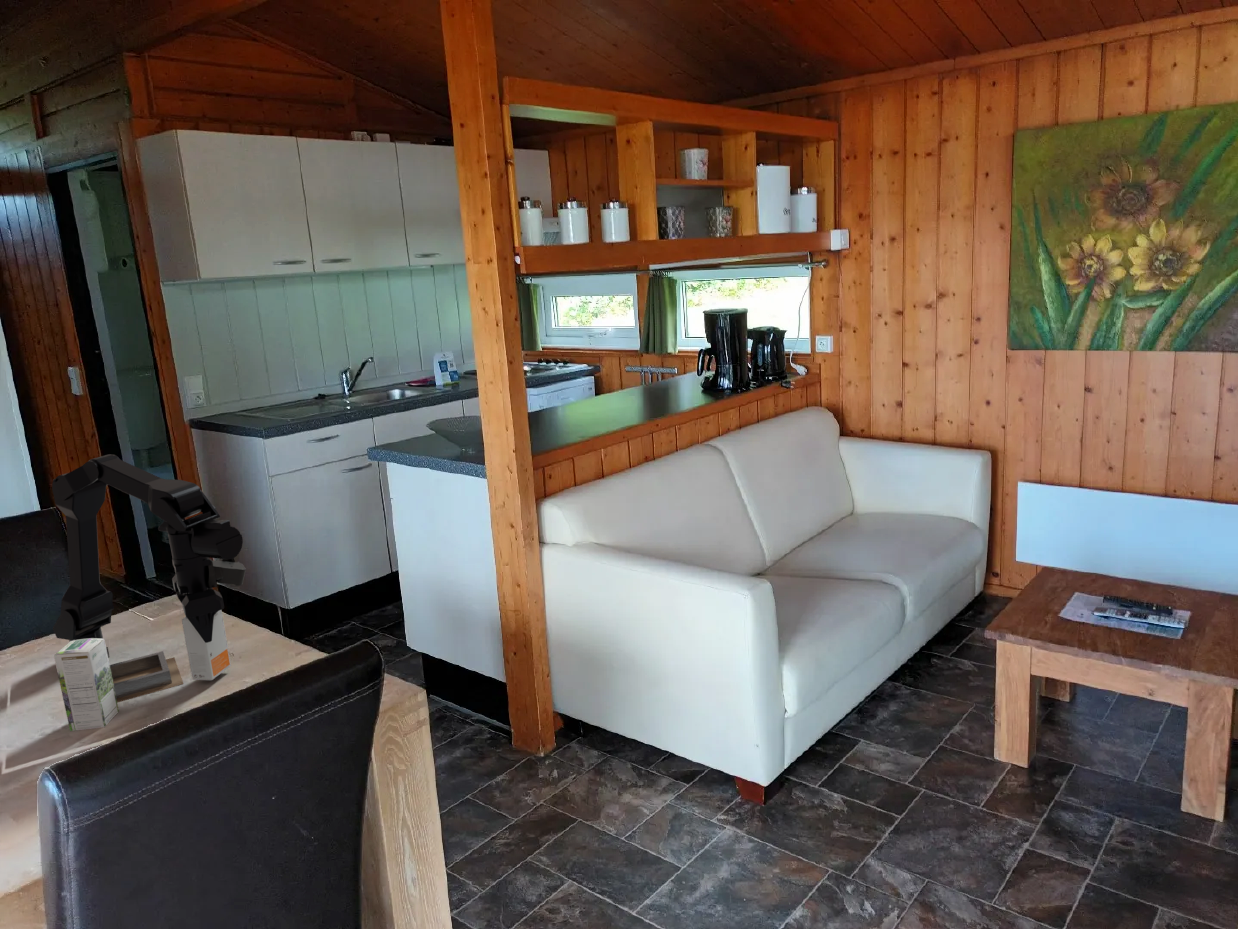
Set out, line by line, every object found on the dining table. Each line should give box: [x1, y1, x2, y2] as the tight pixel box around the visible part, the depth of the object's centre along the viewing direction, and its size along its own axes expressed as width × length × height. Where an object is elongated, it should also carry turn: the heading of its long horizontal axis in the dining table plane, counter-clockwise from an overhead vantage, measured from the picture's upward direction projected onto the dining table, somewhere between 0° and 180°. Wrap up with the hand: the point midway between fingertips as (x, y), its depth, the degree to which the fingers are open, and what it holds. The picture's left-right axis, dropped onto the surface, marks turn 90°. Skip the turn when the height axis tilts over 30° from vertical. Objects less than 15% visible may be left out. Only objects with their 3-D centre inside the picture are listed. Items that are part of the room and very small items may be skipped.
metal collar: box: [110, 650, 172, 699], centre depth 170 cm, size 10×10×2 cm
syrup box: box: [53, 638, 120, 732], centre depth 155 cm, size 6×6×14 cm
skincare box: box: [181, 609, 232, 681], centre depth 168 cm, size 6×4×12 cm
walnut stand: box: [113, 657, 184, 703], centre depth 170 cm, size 14×14×1 cm
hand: (205, 635), depth 168 cm, fingers closed on skincare box, 7 cm apart
